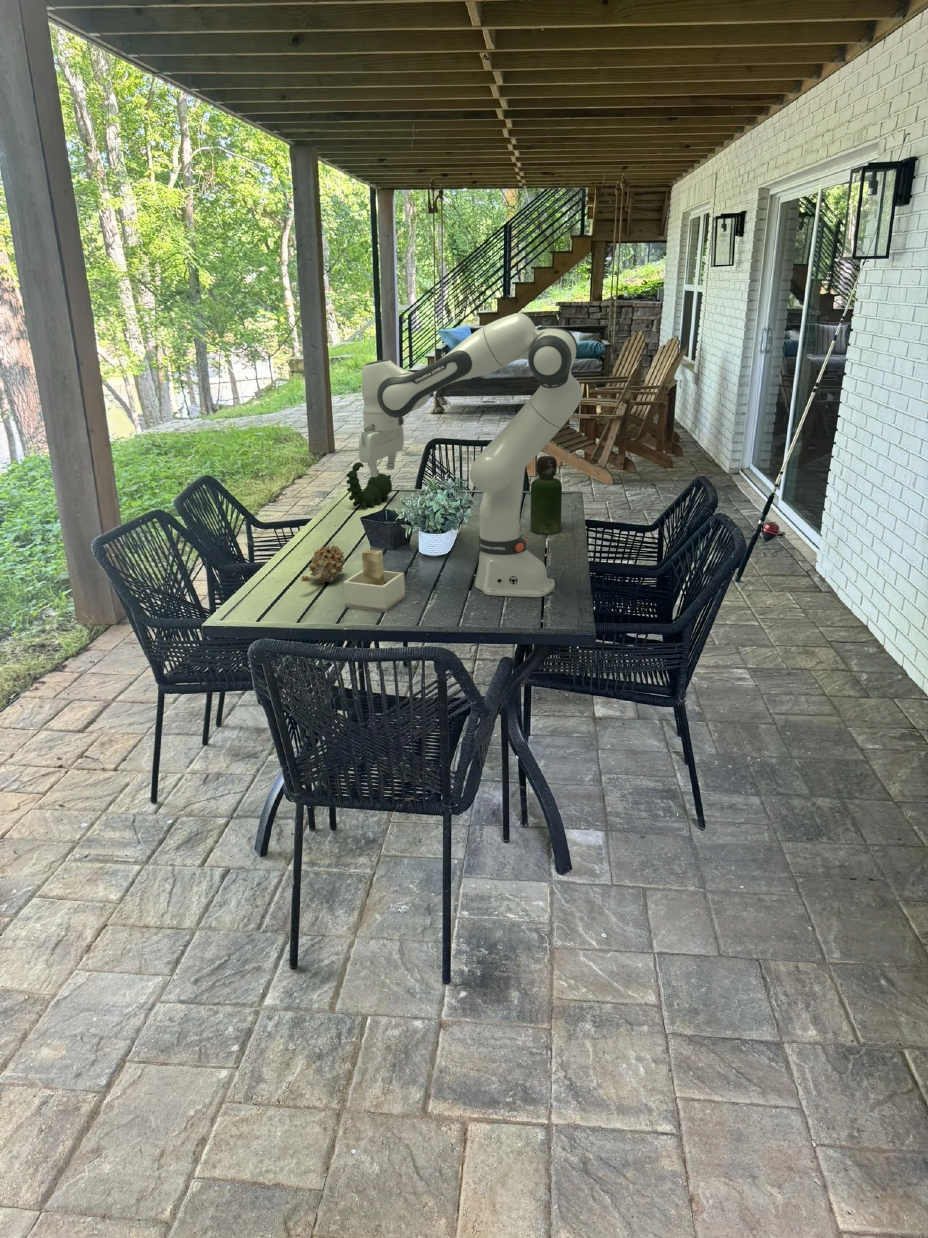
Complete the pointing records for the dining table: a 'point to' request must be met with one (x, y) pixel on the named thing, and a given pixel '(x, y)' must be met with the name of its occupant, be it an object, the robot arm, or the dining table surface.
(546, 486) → the green bottle
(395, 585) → the square planter tray
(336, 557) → the pine cone
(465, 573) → the dining table surface
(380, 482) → the toy figurine
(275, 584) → the dining table surface
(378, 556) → the tall tan wooden post
